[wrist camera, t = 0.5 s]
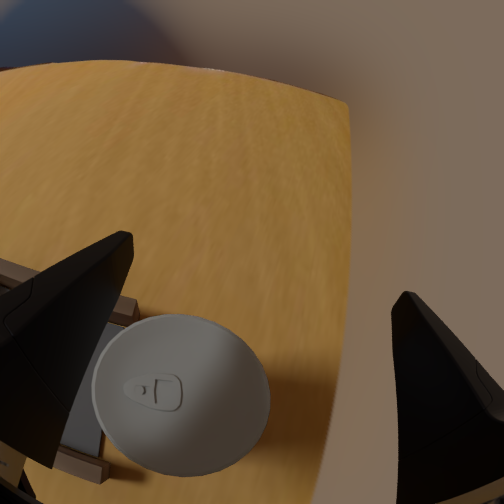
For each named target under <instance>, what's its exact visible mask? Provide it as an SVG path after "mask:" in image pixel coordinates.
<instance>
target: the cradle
mask: <svg viewBox="0 0 504 504" xmlns="http://www.w3.org/2000/svg"><path fill="white" fill-rule="evenodd" d="M39 273H40V272H39V271H36V270H33V269H30V268H27V267H24V266H21V265H18V264H15V263H12V262H9V261H7V260H4V259H1V258H0V285H2V286H5V287H7V288H10V289H13V288H14V287H16V286H18V285H20V284H21V283H23V282H25V281H27V280H28V279H30V278H32V277H33V278H34V276H35V275H37V274H39ZM139 316H140V312H139V308H138V303H137V300H136V299H133V298H129V297H125V296H121V295H120V296H119V299H118V301H117V303H116V306H115V308H114V310H113V312H112V314H111V316H110V318H109V320H108V322H110V323H114V324H118V325H121V326H125V327H128V326H130V325H132V324H133V323H135V322H138V320H139ZM110 464H111V463H109V462H106V461H103V460H100V459H97V458H94V457H91V456H88V455H85V454H82V453H79V452H77V451H74V450H71V449H69V448H66V447H64V446H61V445H59V448H58V451H57V454H56V458H55V461H54V465H53V467H55V468H57V469H59V470H62V471H64V472H67V473H69V474H72V475H74V476H77V477H79V478H82V479H85V480H88V481H91V482H94V483H97V484H102V483H103V482H104V481H106V480H107V479H109V472H110Z"/></svg>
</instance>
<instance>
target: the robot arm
mask: <svg viewBox="0 0 504 504" xmlns="http://www.w3.org/2000/svg"><path fill="white" fill-rule="evenodd" d="M133 258H134V247H133V235H132V234H131V233H130V232H126V231H118V232H116V233H114V234H112V235H110V236H108V237H106V238H104V239H102V240H100V241H98V242H96V243H94V244H92V245H90V246H88V247H86V248H84V249H82V250H80V251H79V252H77V253H75V254H73V255H71V256H69V257H67V258H66V259H64V260H62V261H60V262H58V263H56V264H55V265H53V266H51V267H49V268H47V269H46V270H44V271H42V272H40V273H39V274H37V275H35V276H34V278H33V277H32V278H30V279H28V280H27V281H25V282H23V283H21V284H20V285H18V286H16V287H14V288H13V289H11V290H9V291H7V292H5V293H3V294H1V295H0V504H43V503H41V502H39V501H38V500H36V495H35V493H34V491H33V489H32V487H31V485H30V483H29V481H28V478H27V476H26V474H25V471H24V469H23V467H24V464H25V461H26V458H27V457H29V458H30V459H32V460H34V461H36V462H38V463H40V464H42V465H44V466H46V467H48V468H50V469H52V467H53V465H54V461H55V458H56V454H57V451H58V448H59V445H60V441H61V438H62V435H63V432H64V429H65V426H66V423H67V420H68V418H69V415H70V411H71V409H72V406H73V403H74V401H75V398H76V395H77V393H78V390H79V387H80V385H81V382H82V380H83V377H84V375H85V372H86V370H87V368H88V365H89V363H90V360H91V358H92V356H93V353H94V351H95V349H96V347H97V344H98V342H99V340H100V338H101V335H102V333H103V331H104V329H105V327H106V324H107V322H108V320H109V318H110V316H111V314H112V312H113V310H114V308H115V306H116V303H117V301H118V299H119V296H120V294H121V291H122V288H123V285H124V283H125V280H126V277H127V275H128V272H129V269H130V267H131V264H132V262H133ZM391 321H392V349H393V361H394V370H395V380H396V395H397V410H398V411H397V412H398V447H399V448H398V451H399V452H398V460H399V461H398V483H397V499H396V504H504V390H503V389H502V388H501V387H500V386H499V385H498V384H497V383H496V382H495V380H494V379H493V378H492V377H491V376H490V375H489V374H488V372H487V371H486V370H485V369H484V368H483V367H482V365H481V364H480V363H479V362H478V361H477V360H475V357H474V356H473V355H472V354H471V353H470V351H469V350H468V349H467V348H466V347H465V346H464V345H463V343H462V342H461V341H460V340H459V339H458V338H457V337H456V336H455V335H454V333H453V332H452V331H451V330H450V329H449V328H448V327H447V326H446V325H445V324H444V322H443V321H442V320H441V319H440V318H439V317H438V316H437V315H436V314H435V313H434V312H433V311H432V310H431V309H430V308H429V307H428V306H427V305H426V304H425V302H424V301H423V300H422V299H420V298H419V296H418V295H417V294H416V293H413V292H409V291H404V292H403V293H402V294H401V296H400V297H399V299H398V300H397V302H396V303H395V304H394V306H393V308H392V311H391Z"/></svg>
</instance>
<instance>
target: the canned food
mask: <svg viewBox="0 0 504 504" xmlns="http://www.w3.org/2000/svg"><path fill="white" fill-rule="evenodd" d="M91 387H92V403H93V406H94V410H95V414H96V418H97V420H98V422H99V424H100V426H101V428H102V430H103V431H104V433H105V435H106V436H107V437H108V438H109V440H110V441H111V442H112V443H113V445H114V446H115V447H116V448H117V449H118V450H119V451H120V452H122V453H123V454H124V455H125V456H126V457H128V458H129V459H130V460H132V461H134V462H135V463H137V464H139V465H141V466H143V467H144V468H146V469H149V470H152V471H155V472H158V473H161V474H164V475H171V476H179V477H193V476H203V475H207V474H211V473H214V472H218V471H221V470H223V469H225V468H227V467H229V466H231V465H233V464H235V463H236V462H238V461H239V460H240V459H241V458H243V457H244V456H245V455H246V454H247V453H249V452H250V450H251V449H252V448H253V447H254V445H255V444H256V443H257V442H258V440H259V439H260V437H261V435H262V433H263V431H264V429H265V427H266V424H267V420H268V416H269V412H270V389H269V384H268V379H267V376H266V374H265V371H264V369H263V366H262V364H261V363H260V361H259V360H258V358H257V356H256V355H255V353H254V352H253V351H252V350H251V348H250V347H249V346H248V345H247V344H246V343H245V342H244V341H243V340H242V339H241V338H239V337H238V336H237V335H235V334H234V333H233V332H231V331H230V330H229V329H227V328H225V327H223V326H221V325H219V324H217V323H215V322H213V321H210V320H207V319H204V318H201V317H197V316H190V315H184V314H165V315H159V316H154V317H149V318H146V319H143V320H141V321H138V322H135V323H133V324H132V325H130V326H128V327H127V328H125V329H124V330H122V331H120V332H119V333H118V334H117V335H116V336H115V337H114V338H113V339H112V340H111V341H110V342H109V343H108V344H107V346H106V347H105V349H104V350H103V351H102V353H101V354H100V356H99V359H98V361H97V364H96V366H95V368H94V373H93V379H92V384H91Z"/></svg>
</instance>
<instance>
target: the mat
mask: <svg viewBox="0 0 504 504" xmlns="http://www.w3.org/2000/svg"><path fill="white" fill-rule="evenodd" d="M7 291H9V289H7V288H5V287H2V286H0V295H1V294H3V293H5V292H7ZM122 330H124V327H120V326H117V325H113V324H109V323H107V324H106V327H105V329H104V331H103V333H102V335H101V338H100V340H99V342H98V344H97V347H96V349H95V351H94V353H93V356H92V358H91V360H90V363H89V365H88V368H87V370H86V372H85V375H84V377H83V380H82V382H81V385H80V387H79V390H78V393H77V395H76V398H75V401H74V403H73V406H72V409H71V411H70V415H69V418H68V420H67V423H66V426H65V429H64V432H63V435H62V438H61V441H60V443H61V444H63V445H66V446H68V447H71V448H73V449H76V450H79V451H81V452H84V453H87V454H90V455H93V456H96V457H99V450H100V443H101V436H102V428H101V426H100V424H99V422H98V420H97V418H96V414H95V410H94V406H93V403H92V387H91V384H92V379H93V373H94V368H95V366H96V364H97V361H98V359H99V356H100V354H101V353H102V351H103V350H104V349H105V347H106V346H107V344H108V343H109V342H110V341H111V340H112V339H113V338H114V337H115V336H116V335H117V334H118V333H119V332H120V331H122Z"/></svg>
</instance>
